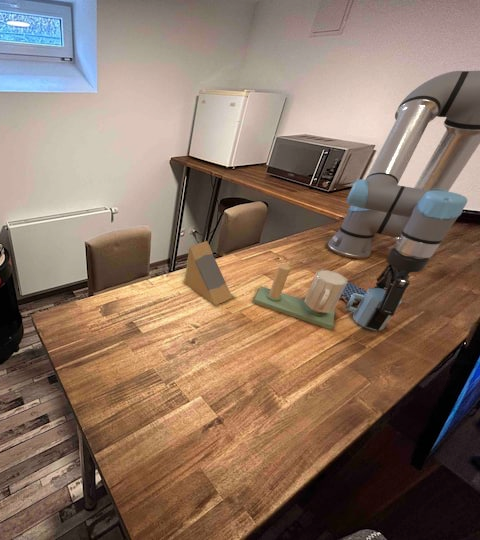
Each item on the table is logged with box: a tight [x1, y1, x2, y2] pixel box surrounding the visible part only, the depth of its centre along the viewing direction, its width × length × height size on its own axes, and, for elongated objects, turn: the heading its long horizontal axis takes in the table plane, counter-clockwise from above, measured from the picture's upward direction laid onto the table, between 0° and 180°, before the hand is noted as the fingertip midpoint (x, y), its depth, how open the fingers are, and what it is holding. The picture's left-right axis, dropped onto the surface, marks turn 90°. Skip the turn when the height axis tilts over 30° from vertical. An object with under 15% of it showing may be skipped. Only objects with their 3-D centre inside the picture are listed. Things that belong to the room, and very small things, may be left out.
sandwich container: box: [184, 240, 233, 306], centre depth 97 cm, size 9×15×15 cm, turn 31°
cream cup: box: [303, 269, 348, 313], centre depth 84 cm, size 8×10×10 cm
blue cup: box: [344, 287, 402, 332], centre depth 86 cm, size 8×10×10 cm
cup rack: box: [253, 263, 336, 331], centre depth 90 cm, size 9×22×14 cm, turn 56°
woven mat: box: [339, 280, 367, 306], centre depth 99 cm, size 10×11×2 cm
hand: (371, 315), depth 87 cm, fingers open, 12 cm apart
